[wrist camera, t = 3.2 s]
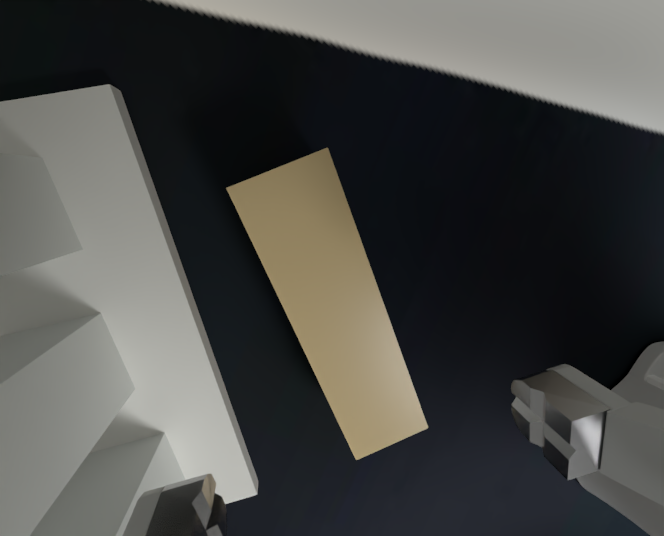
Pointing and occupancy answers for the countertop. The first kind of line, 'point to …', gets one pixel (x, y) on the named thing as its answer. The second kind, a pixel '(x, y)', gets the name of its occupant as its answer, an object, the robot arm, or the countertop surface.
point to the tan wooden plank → (331, 298)
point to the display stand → (97, 329)
